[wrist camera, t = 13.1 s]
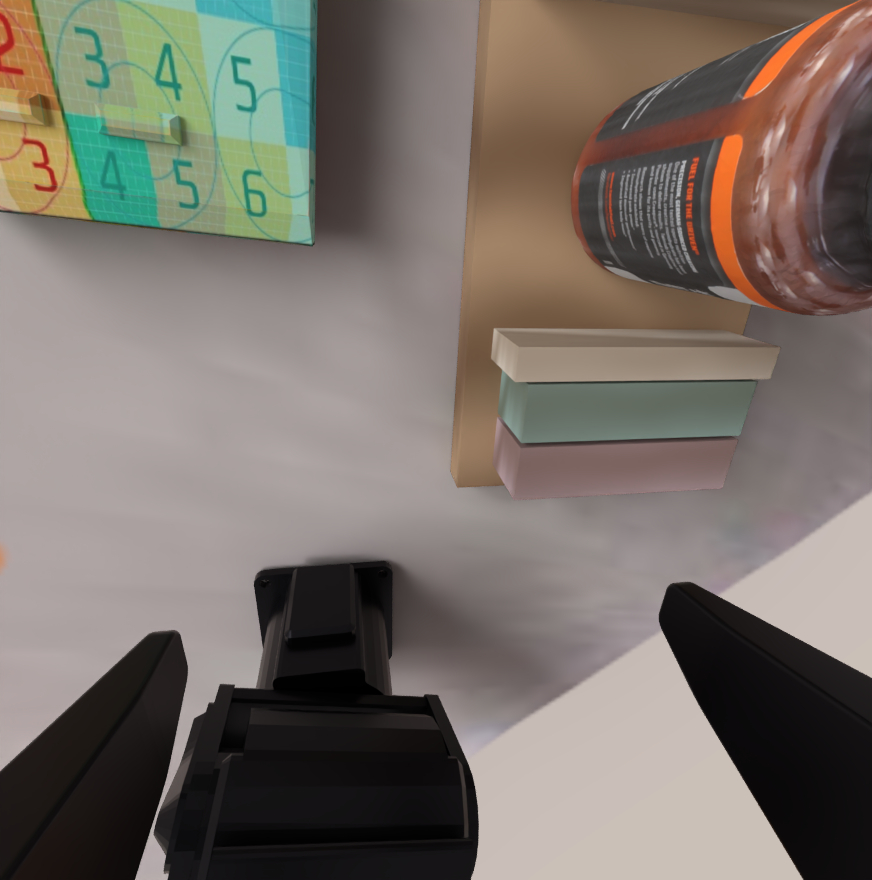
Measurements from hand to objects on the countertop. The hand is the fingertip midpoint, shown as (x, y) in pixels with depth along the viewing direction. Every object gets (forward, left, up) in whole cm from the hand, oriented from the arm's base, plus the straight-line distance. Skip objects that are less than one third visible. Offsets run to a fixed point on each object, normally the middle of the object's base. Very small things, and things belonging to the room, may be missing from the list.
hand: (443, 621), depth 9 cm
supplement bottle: (+8, -9, -12) cm, 17 cm away
